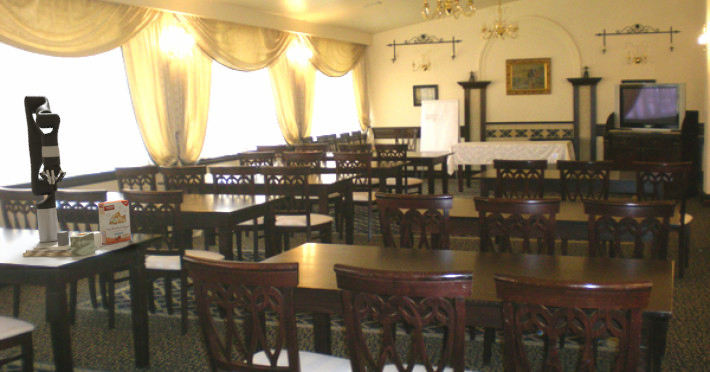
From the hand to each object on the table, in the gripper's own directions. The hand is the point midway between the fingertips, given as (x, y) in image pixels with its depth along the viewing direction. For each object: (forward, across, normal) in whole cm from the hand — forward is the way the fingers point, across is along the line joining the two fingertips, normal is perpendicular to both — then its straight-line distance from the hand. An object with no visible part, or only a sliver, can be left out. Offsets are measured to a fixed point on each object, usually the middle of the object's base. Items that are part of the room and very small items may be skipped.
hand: (54, 191), depth 307 cm
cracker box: (+29, -20, -18) cm, 39 cm away
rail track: (+28, -5, +8) cm, 30 cm away
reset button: (+24, -17, +8) cm, 31 cm away
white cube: (+29, -14, -8) cm, 33 cm away
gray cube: (+26, -8, +8) cm, 28 cm away
